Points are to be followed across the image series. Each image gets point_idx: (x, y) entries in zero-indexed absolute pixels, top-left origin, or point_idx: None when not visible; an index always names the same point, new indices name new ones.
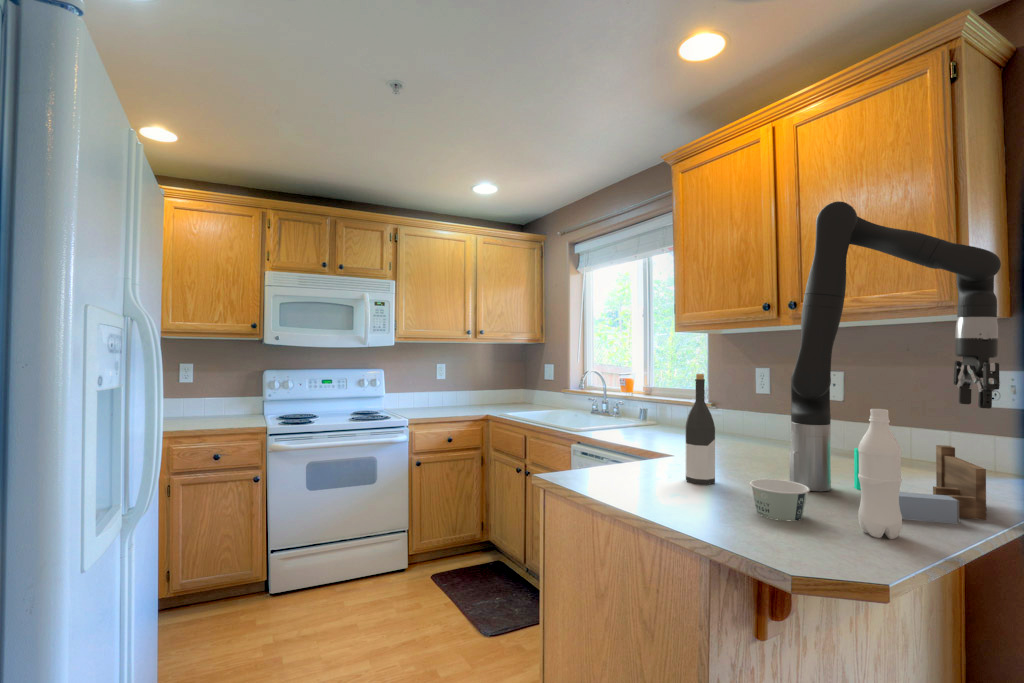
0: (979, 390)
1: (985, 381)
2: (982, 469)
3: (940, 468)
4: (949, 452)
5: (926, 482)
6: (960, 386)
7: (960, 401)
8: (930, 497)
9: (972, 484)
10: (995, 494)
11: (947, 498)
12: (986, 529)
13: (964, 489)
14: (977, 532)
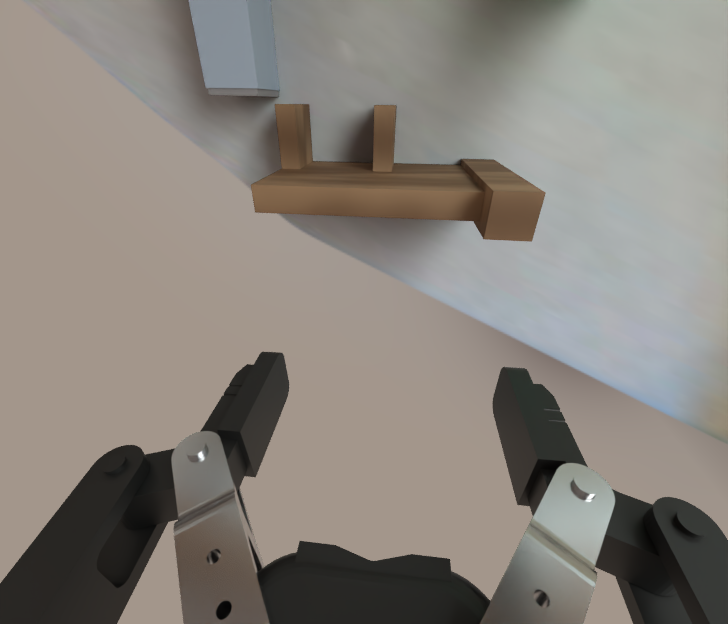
0: (212, 435)
1: (66, 510)
2: (254, 202)
3: (484, 174)
4: (483, 214)
5: (673, 212)
6: (550, 480)
7: (508, 374)
8: (203, 9)
9: (289, 174)
10: (536, 314)
11: (217, 68)
12: (218, 142)
13: (341, 171)
14: (182, 107)
